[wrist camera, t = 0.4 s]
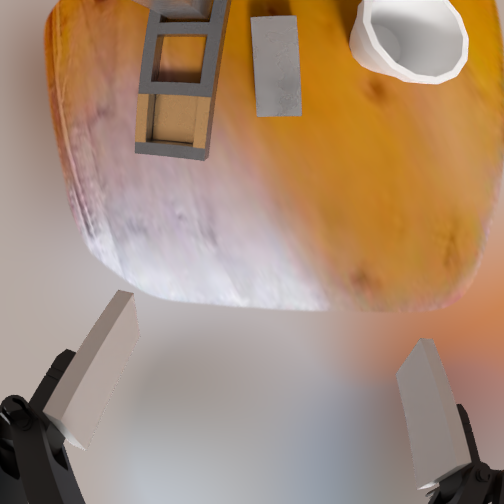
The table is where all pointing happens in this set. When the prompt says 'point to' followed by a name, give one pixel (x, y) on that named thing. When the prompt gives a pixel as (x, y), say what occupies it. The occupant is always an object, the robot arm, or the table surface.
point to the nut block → (276, 66)
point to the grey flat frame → (179, 90)
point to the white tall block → (180, 8)
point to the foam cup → (410, 39)
